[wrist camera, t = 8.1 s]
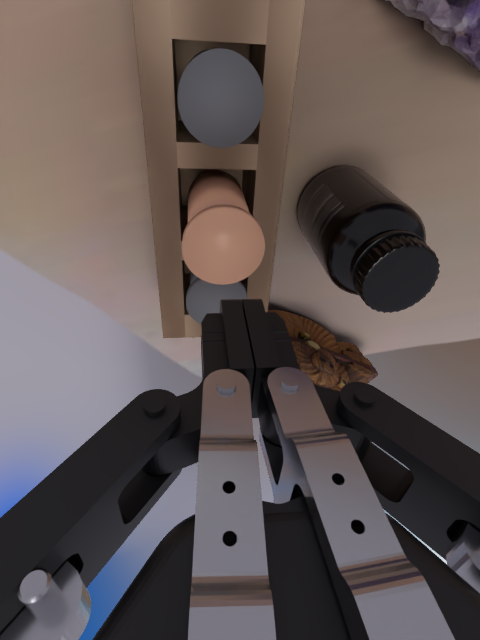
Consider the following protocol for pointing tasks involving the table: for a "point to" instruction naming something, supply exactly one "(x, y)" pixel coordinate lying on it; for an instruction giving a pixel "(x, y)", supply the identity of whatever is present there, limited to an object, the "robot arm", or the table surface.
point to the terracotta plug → (220, 231)
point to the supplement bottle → (367, 239)
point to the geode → (449, 23)
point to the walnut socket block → (196, 157)
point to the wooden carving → (325, 354)
